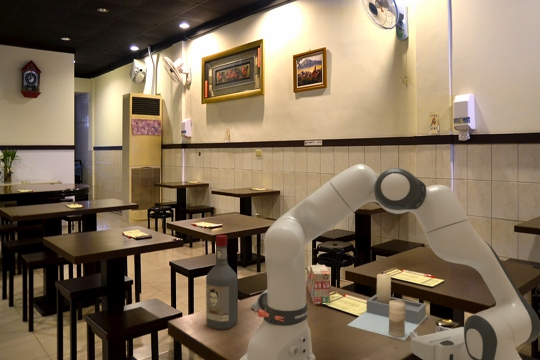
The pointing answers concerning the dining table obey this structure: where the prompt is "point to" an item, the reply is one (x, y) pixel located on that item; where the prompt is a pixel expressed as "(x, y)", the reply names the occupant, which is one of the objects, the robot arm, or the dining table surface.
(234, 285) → the liquor
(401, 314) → the beech post
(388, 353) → the dining table surface
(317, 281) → the stack of blocks
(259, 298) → the ceramic mug
